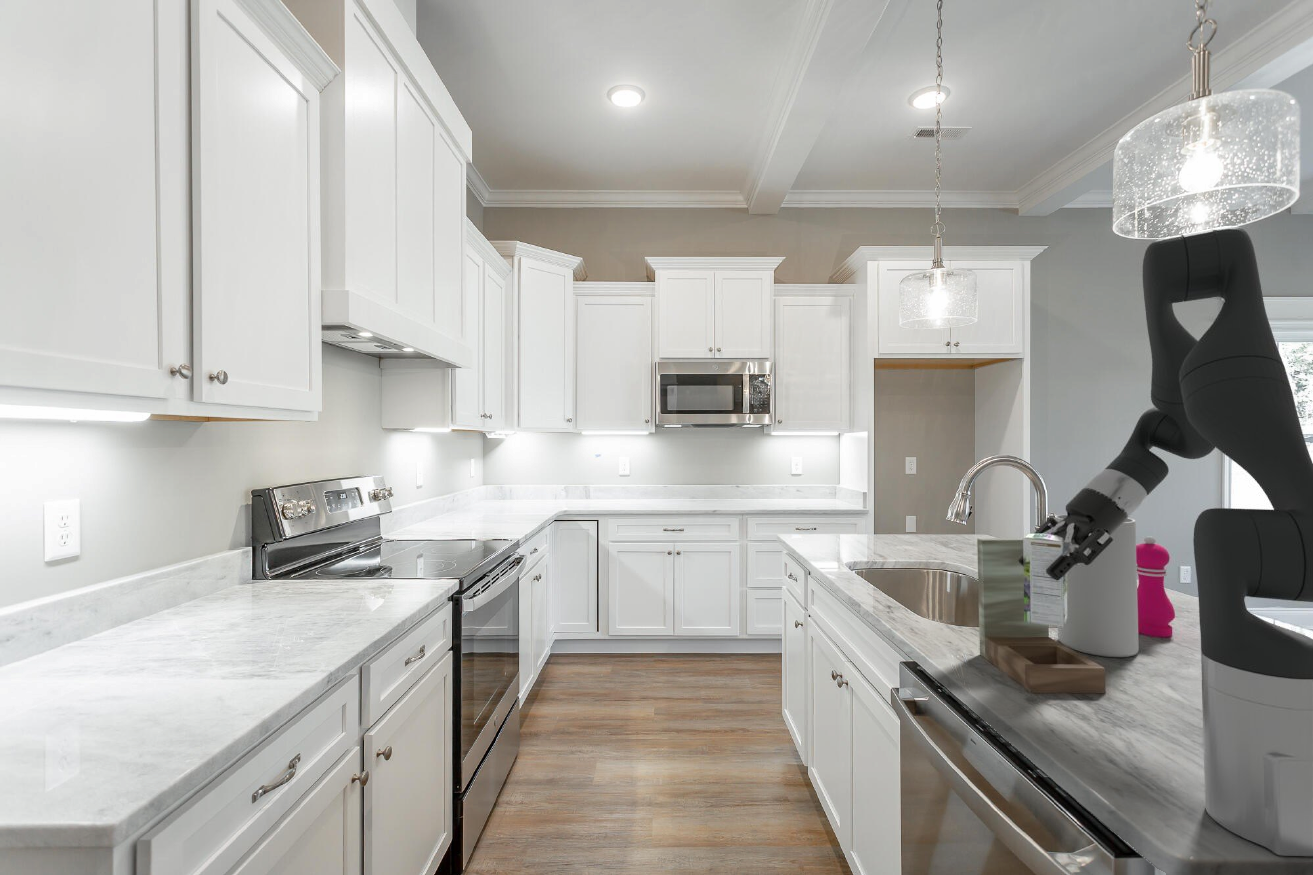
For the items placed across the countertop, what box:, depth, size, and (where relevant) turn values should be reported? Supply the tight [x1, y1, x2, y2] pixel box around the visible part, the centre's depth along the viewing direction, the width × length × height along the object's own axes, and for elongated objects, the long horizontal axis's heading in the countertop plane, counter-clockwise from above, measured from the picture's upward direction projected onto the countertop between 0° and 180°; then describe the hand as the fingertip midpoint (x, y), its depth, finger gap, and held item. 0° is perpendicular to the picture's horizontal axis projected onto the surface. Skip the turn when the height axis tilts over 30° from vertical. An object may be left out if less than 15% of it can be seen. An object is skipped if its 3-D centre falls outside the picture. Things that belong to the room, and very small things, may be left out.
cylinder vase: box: [1054, 514, 1140, 658], centre depth 113 cm, size 12×12×25 cm
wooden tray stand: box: [976, 537, 1107, 694], centre depth 101 cm, size 17×12×22 cm
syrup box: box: [1023, 533, 1067, 628], centre depth 99 cm, size 6×6×14 cm
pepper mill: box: [1136, 535, 1176, 638], centre depth 120 cm, size 7×7×20 cm
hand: (1036, 570), depth 99 cm, fingers closed on syrup box, 7 cm apart
